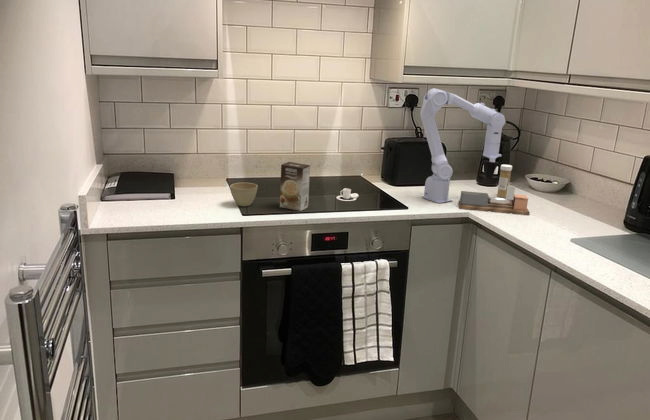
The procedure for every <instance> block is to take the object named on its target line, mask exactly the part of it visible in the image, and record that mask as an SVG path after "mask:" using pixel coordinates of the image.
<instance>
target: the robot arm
mask: <svg viewBox="0 0 650 420" xmlns="http://www.w3.org/2000/svg"><path fill="white" fill-rule="evenodd" d="M422 101H423V103H422V105H421V110H420V114H419V116H420V119H421V123H422V126H423V129H424V134H425V137H426V141H427V143H428V144H427V145H428V147H429V152H430V155H431V162H432V163H431V171H432V173H433V174H432V175H431V176H428V177H427V178H426V180H425V182H424V183H425V184H424V189H423V190H424V192H423V196H422V198H423V199H424V200H429V201H432V202H434V203H437V204H441V203H443V204H444V203H448V202H449V203H450V202H453V199H451V198H449V192H450V184H451V177H452V176H453V173H454V172H453V171H454V170H453V168H452V166H451V165H450V164H449V161H448V159H447V157H446V154H445V151H444V148H443V144H442V141H441V136H440V133H439V130H438V126H437V123H436V118H435V116H436V114H437V113H438V112H439V111H440V109H441V108H443V107H444V106H445V105H455V106H457V107H459V108H461V109H463V110H466V111H467V112H469V114H470V116H471V117H472V118H474V119H476V120H478V121H480V122H482V123H484V124H486V131H485V139H484V147H483V153H482V156H481V159H482V163H483V164H482V165H483V175H485V179H486V180H492V178H493V176H494V174H495V171H496V168H497V167H498V166H499V165H500V162H499V161H496V160H497V158H499V157H500V158H501V157H502V154H501V153H499V152H500V147H501V141H502V139H501V138H502V131H503V127H504V126H505V125H506V117H505V115H504V114H503V113H501V112H499V111H496V109H495V108H490V107H488V106H486V103H484V102H477V103H472V102H470V101H468V100H466V99H465V98H462V97H460V96H459V95H457V94H455V93H452V92H448V91H445V90H442V89H439V88H435V87H433V88H431V89H429V90H428V91H427V92H426V94H424V96H423V100H422Z"/></svg>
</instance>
